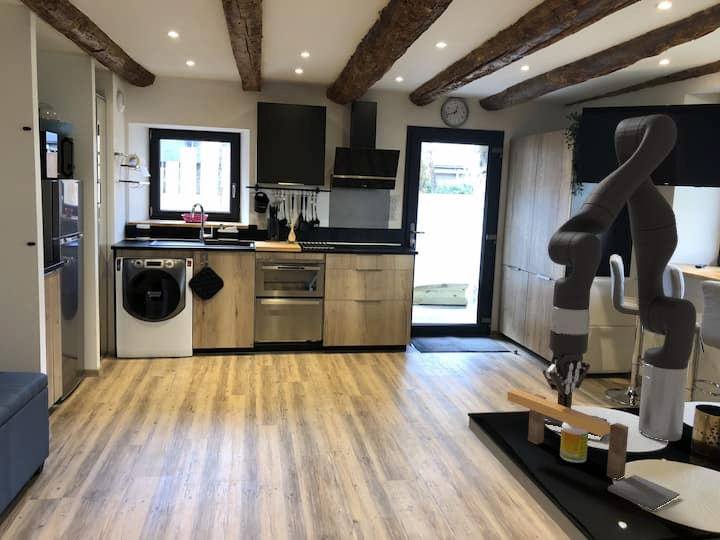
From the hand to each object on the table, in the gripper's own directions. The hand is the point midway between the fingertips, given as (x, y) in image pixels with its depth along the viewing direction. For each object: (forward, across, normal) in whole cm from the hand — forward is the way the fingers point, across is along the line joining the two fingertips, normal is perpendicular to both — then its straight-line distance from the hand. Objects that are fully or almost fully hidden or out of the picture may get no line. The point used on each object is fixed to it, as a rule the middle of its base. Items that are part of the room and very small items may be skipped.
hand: (564, 409), depth 122 cm
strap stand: (+12, -4, 0) cm, 12 cm away
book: (+12, -2, +17) cm, 21 cm away
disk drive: (+12, -19, -11) cm, 25 cm away
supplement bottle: (+12, -4, 0) cm, 13 cm away
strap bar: (+1, +3, 0) cm, 3 cm away
